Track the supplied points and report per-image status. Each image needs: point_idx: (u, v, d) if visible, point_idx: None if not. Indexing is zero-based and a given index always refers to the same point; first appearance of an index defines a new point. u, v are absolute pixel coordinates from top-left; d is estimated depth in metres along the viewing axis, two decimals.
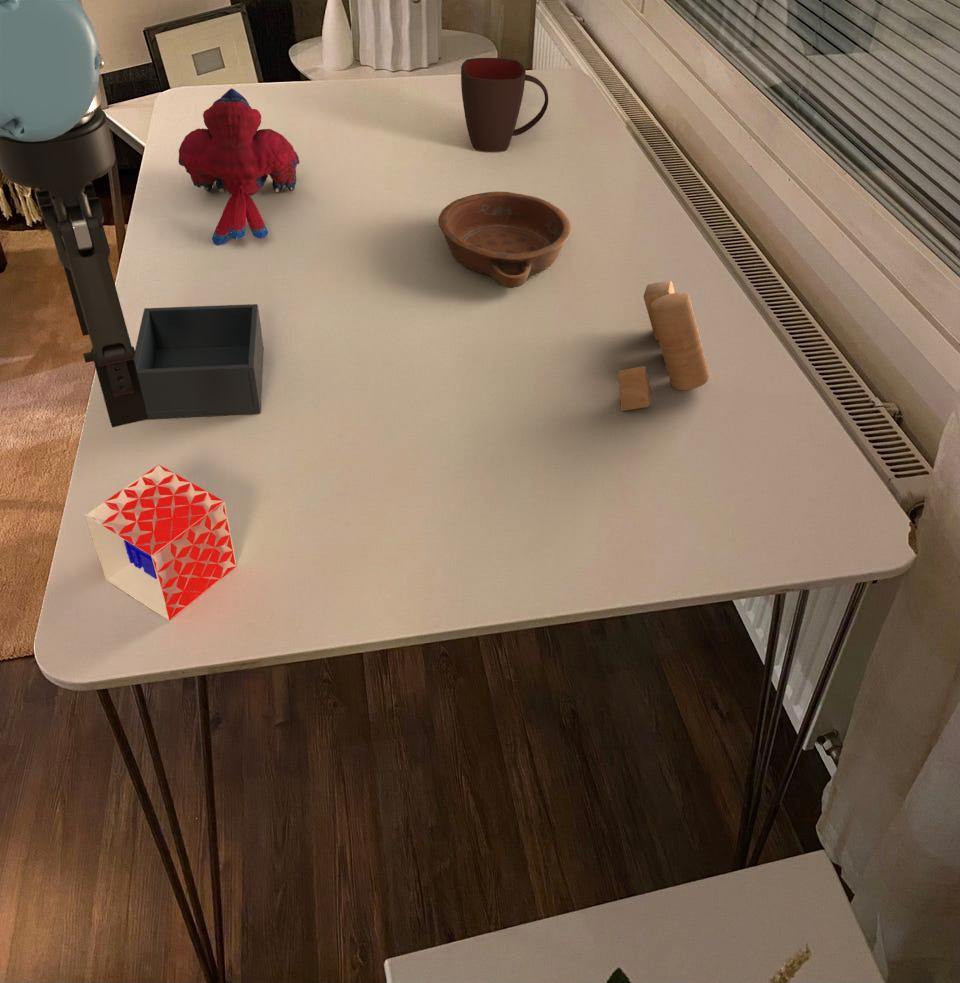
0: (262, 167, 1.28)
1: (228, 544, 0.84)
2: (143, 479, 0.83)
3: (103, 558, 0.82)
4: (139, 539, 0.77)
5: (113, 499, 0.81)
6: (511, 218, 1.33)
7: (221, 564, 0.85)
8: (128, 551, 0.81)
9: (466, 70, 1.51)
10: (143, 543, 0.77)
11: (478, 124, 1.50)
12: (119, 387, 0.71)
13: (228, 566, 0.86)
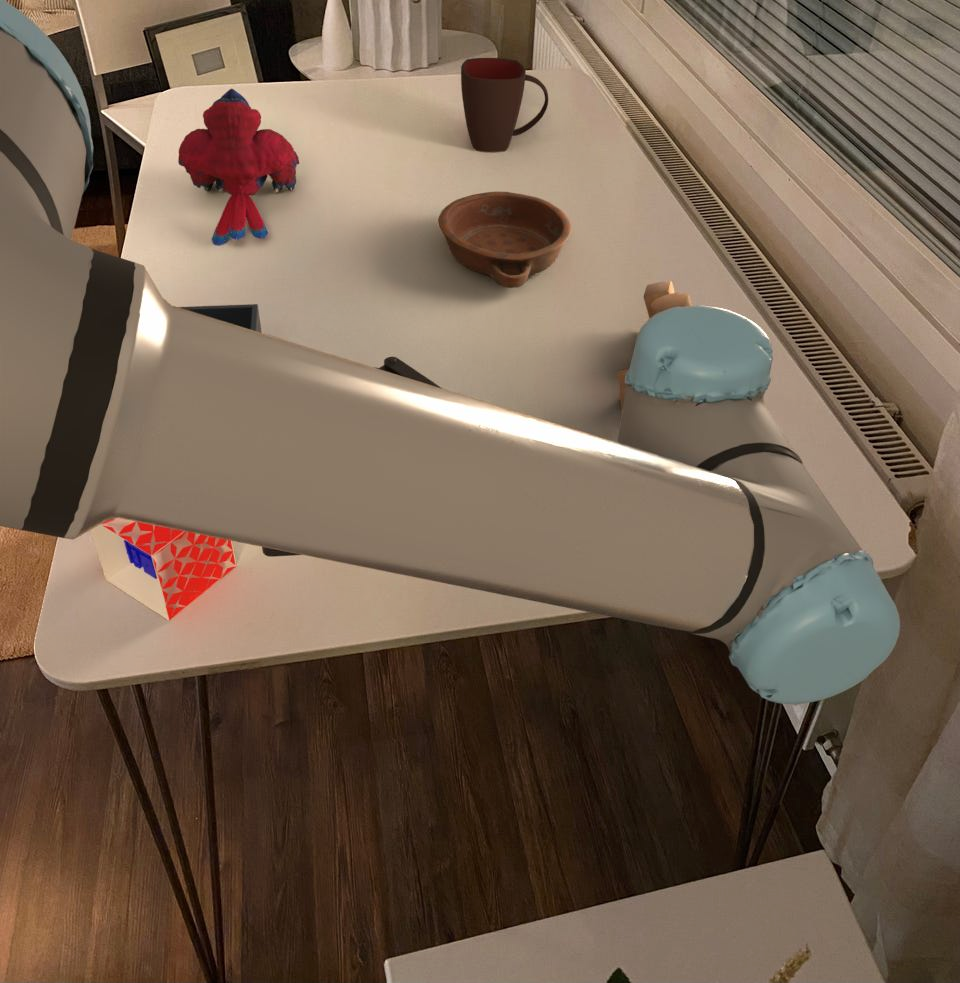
0: (262, 167, 1.28)
1: (228, 544, 0.84)
2: None
3: (103, 558, 0.82)
4: (139, 539, 0.77)
5: None
6: (511, 218, 1.33)
7: (221, 564, 0.85)
8: (128, 551, 0.81)
9: (466, 70, 1.51)
10: (143, 543, 0.77)
11: (478, 124, 1.50)
12: None
13: (228, 566, 0.86)
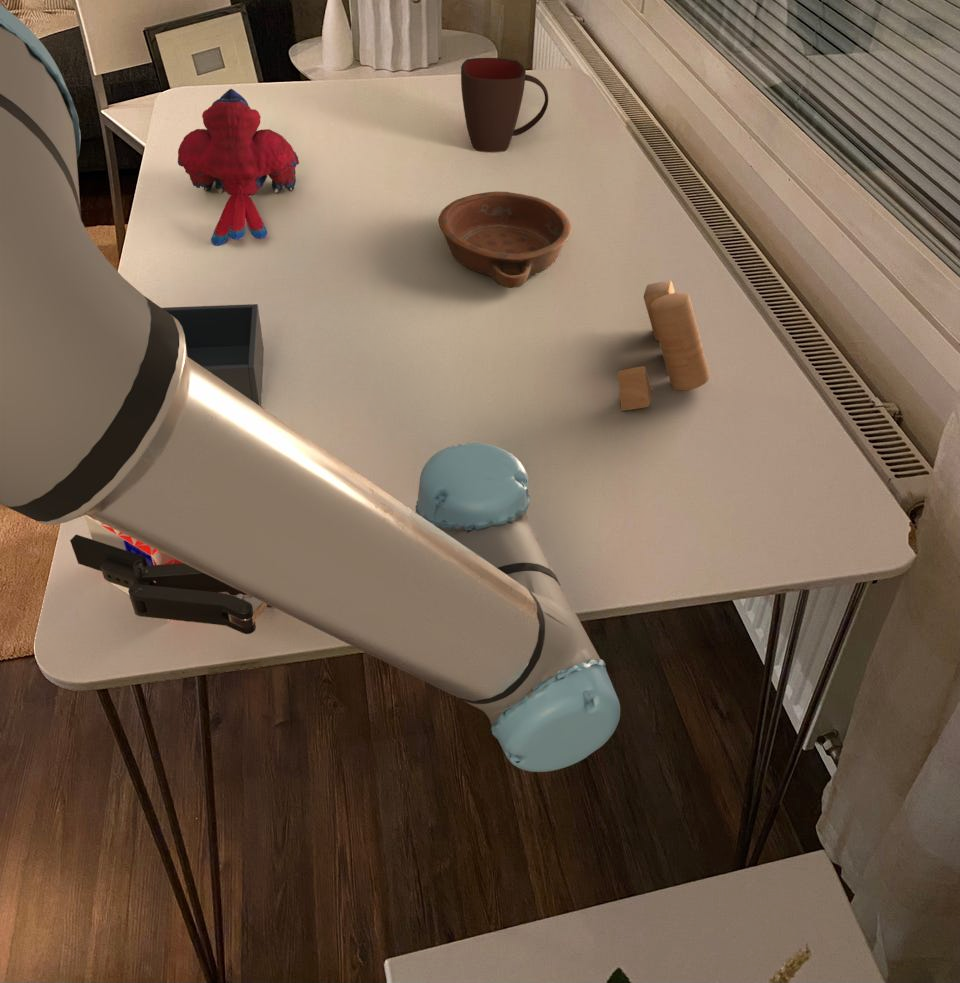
0: (261, 167, 1.28)
1: None
2: None
3: None
4: None
5: None
6: (511, 218, 1.33)
7: None
8: None
9: (466, 70, 1.51)
10: (143, 543, 0.77)
11: (478, 124, 1.50)
12: (109, 574, 0.77)
13: None
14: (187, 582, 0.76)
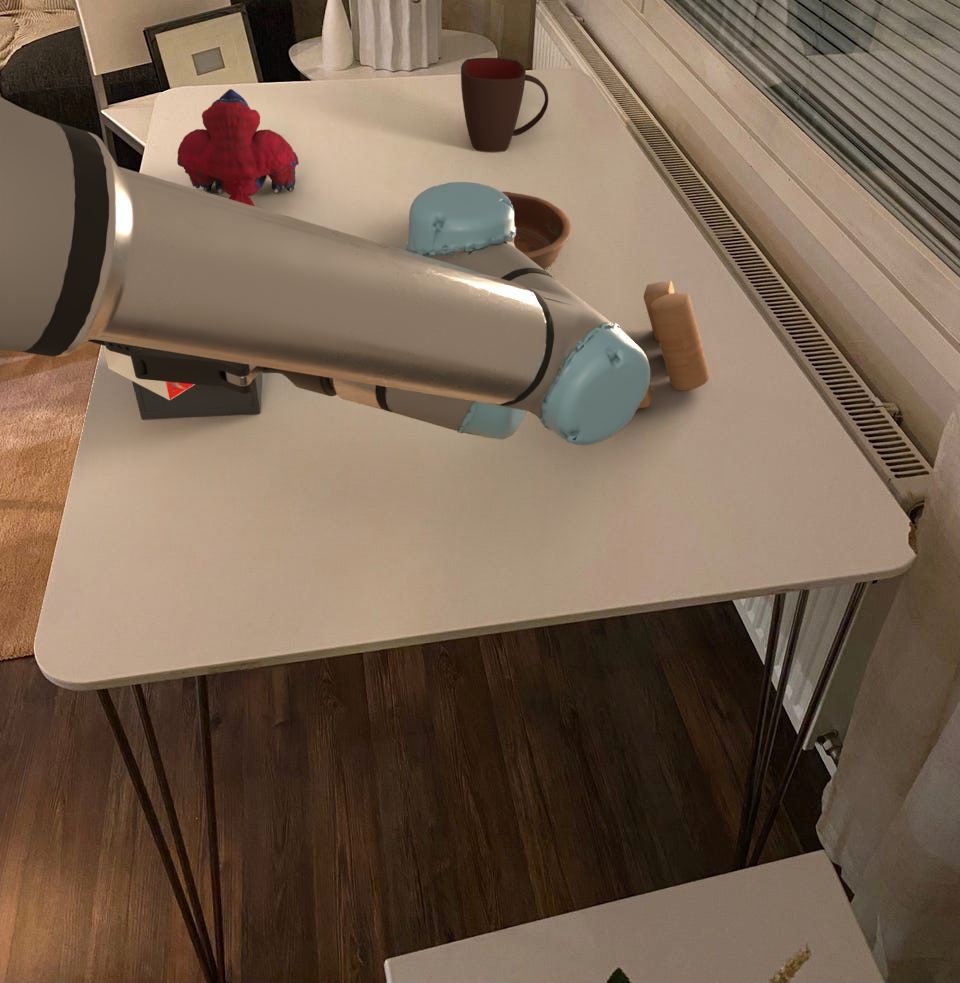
0: (261, 168, 1.27)
1: None
2: None
3: None
4: None
5: None
6: None
7: None
8: None
9: (466, 70, 1.51)
10: None
11: (478, 124, 1.50)
12: (110, 342, 0.79)
13: None
14: None
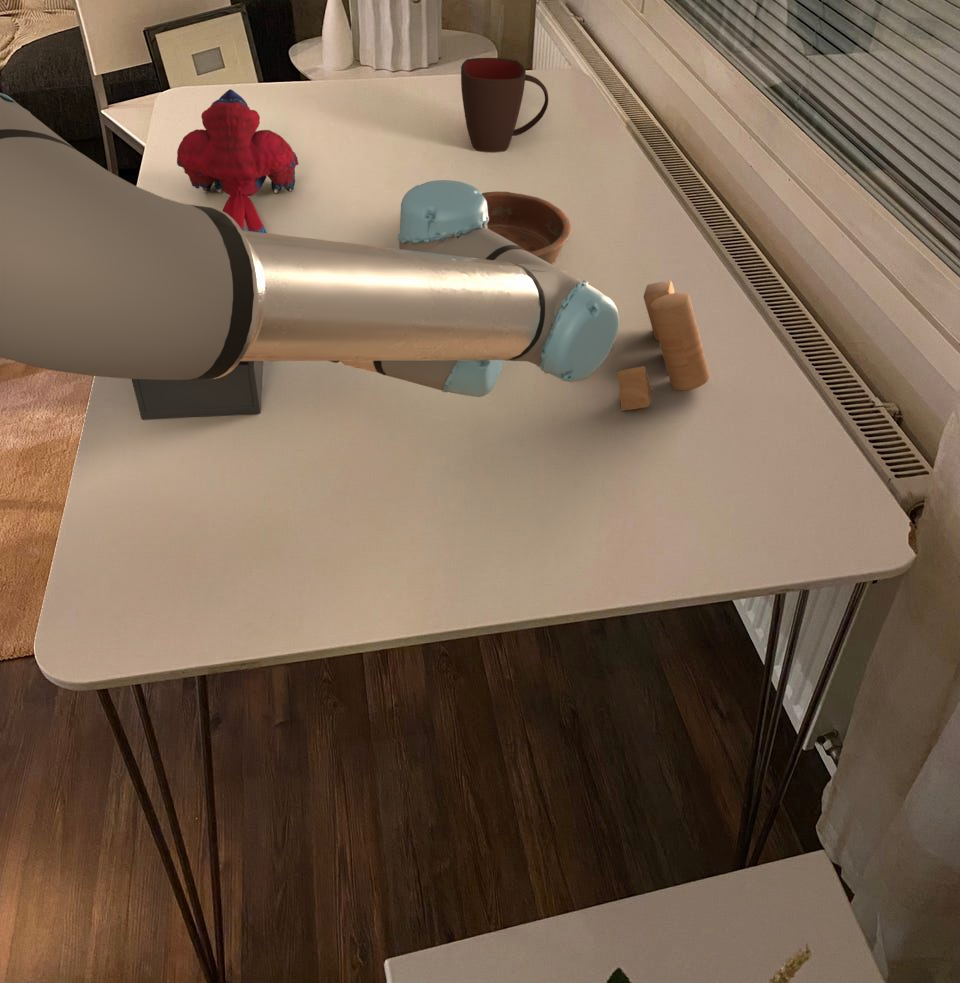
0: (260, 168, 1.27)
1: None
2: None
3: None
4: None
5: None
6: (511, 218, 1.33)
7: None
8: None
9: (466, 70, 1.51)
10: None
11: (478, 124, 1.50)
12: None
13: None
14: None
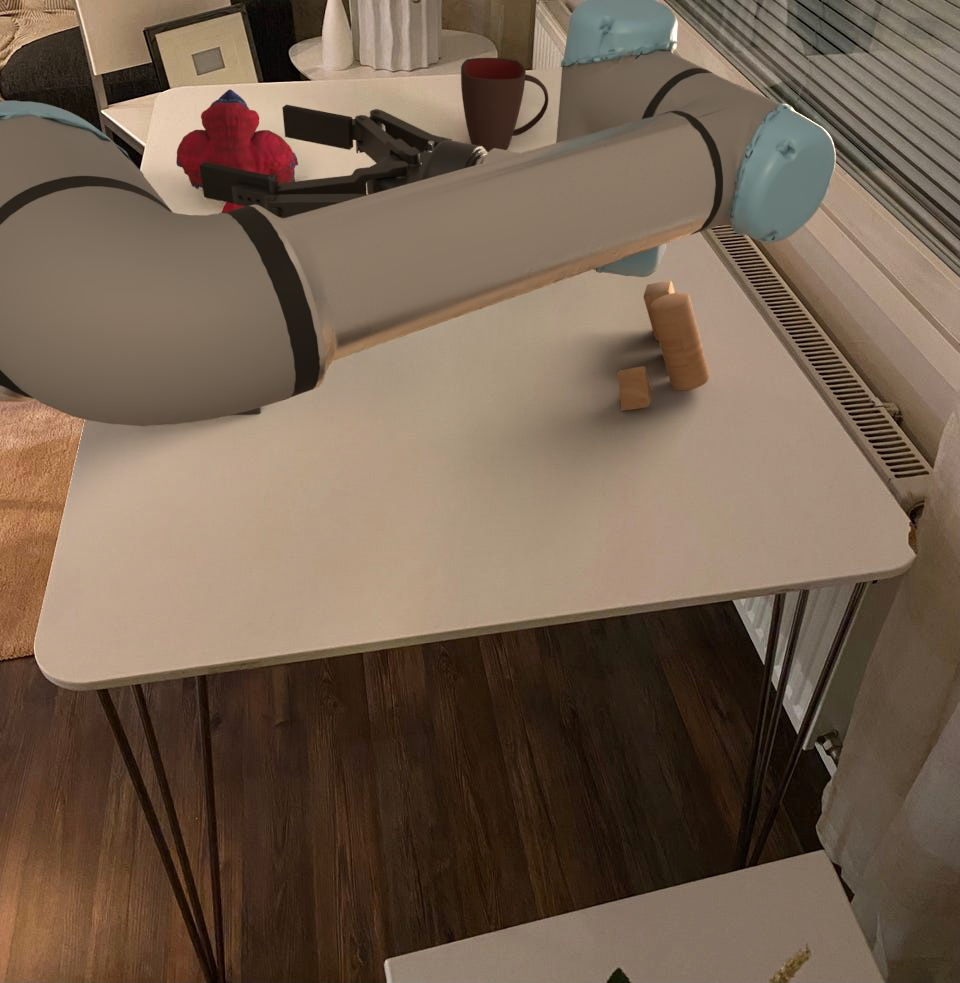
0: (260, 168, 1.27)
1: None
2: None
3: None
4: None
5: None
6: None
7: None
8: None
9: (466, 70, 1.51)
10: None
11: (478, 124, 1.50)
12: (240, 195, 0.76)
13: None
14: None
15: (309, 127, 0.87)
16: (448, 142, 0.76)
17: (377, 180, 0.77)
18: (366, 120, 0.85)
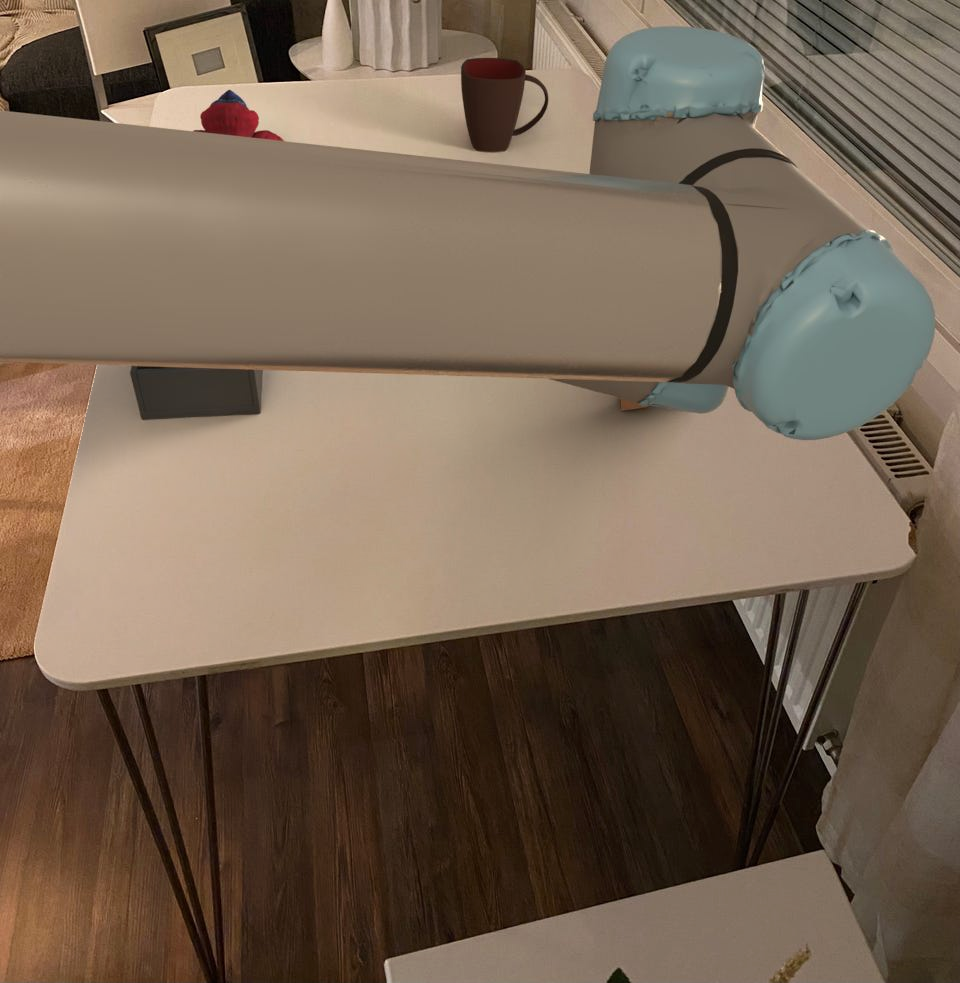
0: None
1: None
2: None
3: None
4: None
5: None
6: None
7: None
8: None
9: (466, 70, 1.51)
10: None
11: (478, 124, 1.50)
12: None
13: None
14: None
15: None
16: None
17: None
18: None
